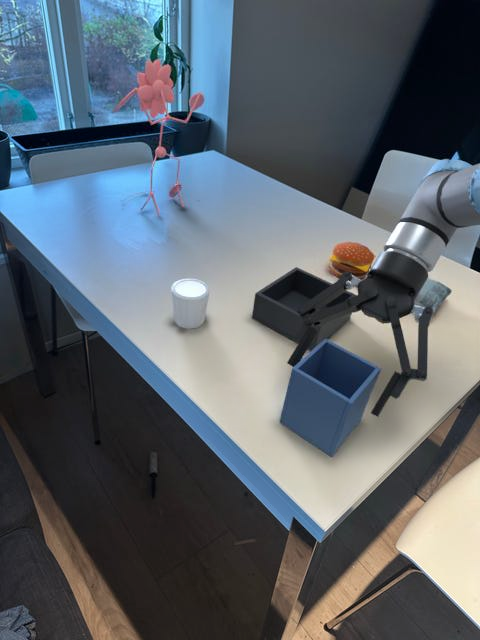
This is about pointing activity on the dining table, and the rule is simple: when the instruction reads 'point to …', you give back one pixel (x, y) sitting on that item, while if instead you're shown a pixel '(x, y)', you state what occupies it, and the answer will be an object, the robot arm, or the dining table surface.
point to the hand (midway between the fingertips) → (330, 389)
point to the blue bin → (328, 395)
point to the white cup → (190, 302)
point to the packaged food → (432, 294)
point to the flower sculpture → (159, 108)
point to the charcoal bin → (295, 305)
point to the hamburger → (351, 259)
